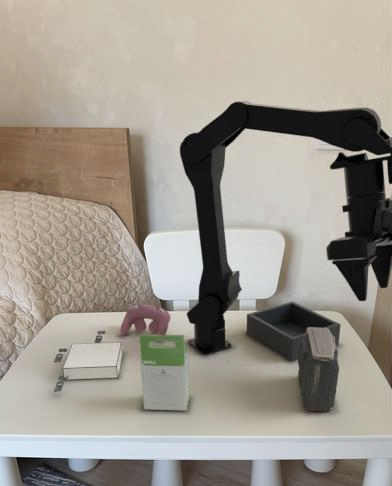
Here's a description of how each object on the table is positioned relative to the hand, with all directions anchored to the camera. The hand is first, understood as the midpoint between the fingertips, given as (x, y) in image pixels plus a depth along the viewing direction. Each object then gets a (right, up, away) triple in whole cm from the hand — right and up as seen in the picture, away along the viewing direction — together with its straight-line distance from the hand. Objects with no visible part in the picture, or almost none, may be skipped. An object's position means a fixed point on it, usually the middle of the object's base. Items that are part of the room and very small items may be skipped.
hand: (373, 294), depth 83 cm
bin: (-10, -8, +21) cm, 24 cm away
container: (-48, -13, +13) cm, 52 cm away
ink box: (-33, -18, +1) cm, 38 cm away
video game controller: (-39, -6, +25) cm, 47 cm away
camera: (-9, -16, +3) cm, 19 cm away
